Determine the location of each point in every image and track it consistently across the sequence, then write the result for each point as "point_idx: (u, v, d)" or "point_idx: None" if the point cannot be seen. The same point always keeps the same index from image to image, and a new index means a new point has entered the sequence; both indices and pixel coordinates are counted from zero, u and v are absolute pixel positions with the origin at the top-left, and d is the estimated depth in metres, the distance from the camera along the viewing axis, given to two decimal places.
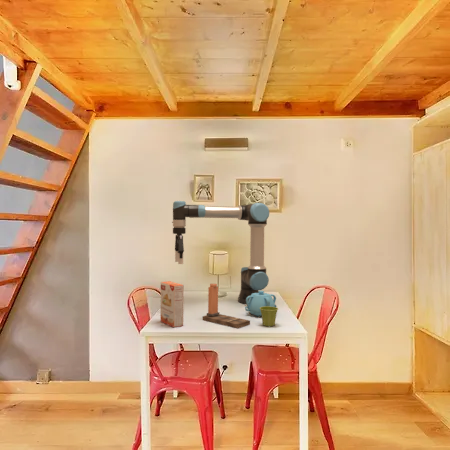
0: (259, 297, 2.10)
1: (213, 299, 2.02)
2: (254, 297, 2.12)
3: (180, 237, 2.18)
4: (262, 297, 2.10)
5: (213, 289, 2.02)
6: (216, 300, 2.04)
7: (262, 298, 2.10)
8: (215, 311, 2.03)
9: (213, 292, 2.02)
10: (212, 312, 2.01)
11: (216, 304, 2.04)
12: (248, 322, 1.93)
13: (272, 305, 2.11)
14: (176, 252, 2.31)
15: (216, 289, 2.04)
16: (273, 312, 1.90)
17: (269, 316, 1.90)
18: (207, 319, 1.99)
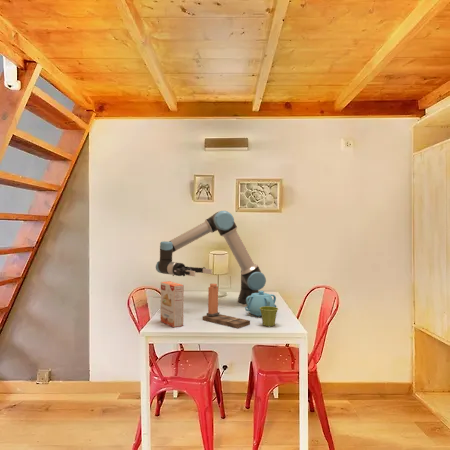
0: (259, 297, 2.10)
1: (213, 299, 2.02)
2: (254, 297, 2.12)
3: (175, 271, 2.13)
4: (262, 297, 2.10)
5: (213, 289, 2.02)
6: (216, 300, 2.04)
7: (262, 298, 2.10)
8: (215, 311, 2.03)
9: (213, 292, 2.02)
10: (212, 312, 2.01)
11: (216, 304, 2.04)
12: (248, 322, 1.93)
13: (272, 305, 2.11)
14: (203, 272, 2.17)
15: (216, 289, 2.04)
16: (273, 312, 1.90)
17: (269, 316, 1.90)
18: (207, 319, 1.99)
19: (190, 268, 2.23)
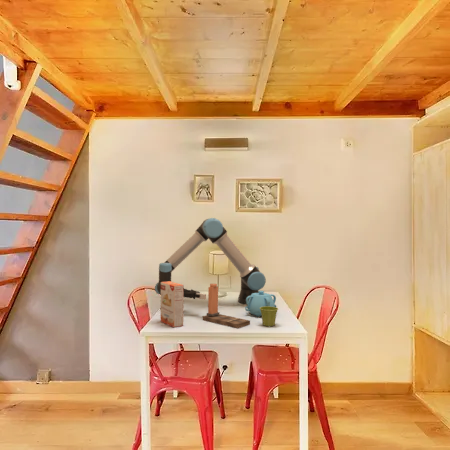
0: (259, 297, 2.10)
1: (213, 299, 2.02)
2: (254, 297, 2.12)
3: None
4: (262, 297, 2.10)
5: (213, 289, 2.02)
6: (216, 300, 2.04)
7: (262, 298, 2.10)
8: (215, 311, 2.03)
9: (213, 292, 2.02)
10: (212, 312, 2.01)
11: (216, 304, 2.04)
12: (248, 322, 1.93)
13: (272, 305, 2.11)
14: None
15: (216, 289, 2.04)
16: (273, 312, 1.90)
17: (269, 316, 1.90)
18: (207, 319, 1.99)
19: (190, 291, 2.22)
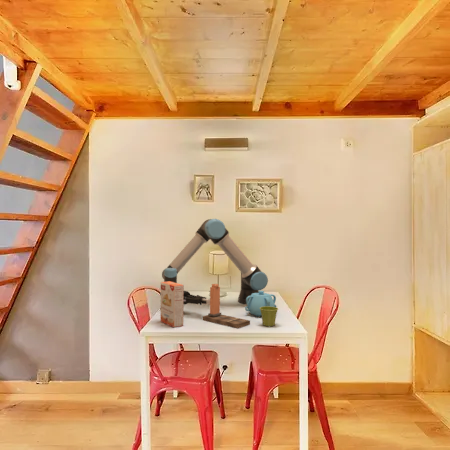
0: (259, 297, 2.10)
1: (215, 299, 2.01)
2: (254, 297, 2.12)
3: (184, 300, 2.09)
4: (262, 297, 2.10)
5: (215, 289, 2.01)
6: (218, 300, 2.03)
7: (262, 298, 2.10)
8: (217, 311, 2.02)
9: (215, 292, 2.01)
10: (214, 312, 2.01)
11: (218, 305, 2.03)
12: (248, 322, 1.93)
13: (272, 305, 2.11)
14: None
15: (218, 289, 2.03)
16: (273, 312, 1.90)
17: (269, 316, 1.90)
18: (207, 319, 1.99)
19: (197, 296, 2.18)
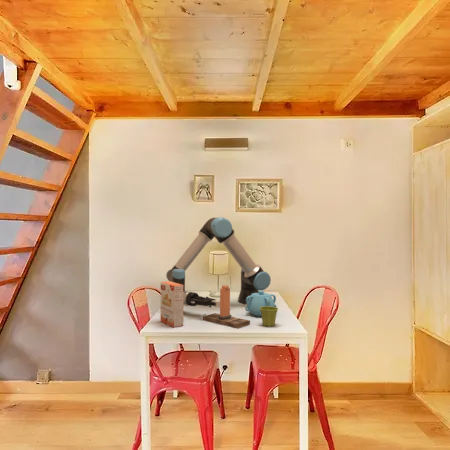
0: (259, 297, 2.10)
1: (225, 301, 1.97)
2: (254, 297, 2.12)
3: (193, 302, 2.04)
4: (262, 297, 2.10)
5: (225, 291, 1.96)
6: (228, 302, 1.98)
7: (262, 298, 2.10)
8: (227, 314, 1.98)
9: (225, 294, 1.97)
10: (224, 315, 1.96)
11: (228, 307, 1.99)
12: (248, 322, 1.93)
13: (272, 305, 2.11)
14: None
15: (228, 291, 1.98)
16: (273, 312, 1.90)
17: (269, 316, 1.90)
18: (207, 319, 1.99)
19: (205, 298, 2.13)
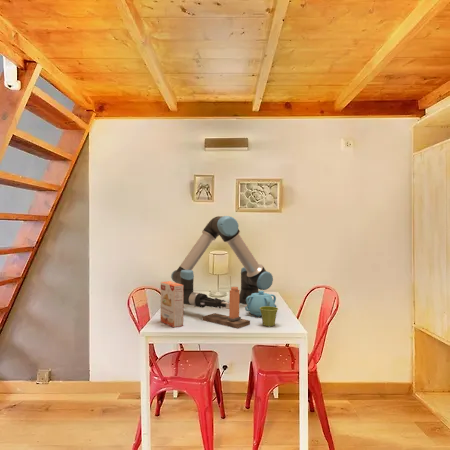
0: (259, 297, 2.10)
1: (234, 303, 1.93)
2: (254, 297, 2.12)
3: (202, 304, 2.00)
4: (262, 297, 2.10)
5: (234, 292, 1.92)
6: (237, 304, 1.94)
7: (262, 298, 2.10)
8: (236, 315, 1.94)
9: (234, 296, 1.93)
10: (233, 317, 1.92)
11: (237, 308, 1.94)
12: (248, 322, 1.93)
13: (272, 305, 2.11)
14: None
15: (237, 292, 1.94)
16: (273, 312, 1.90)
17: (269, 316, 1.90)
18: (207, 319, 1.99)
19: (215, 299, 2.10)
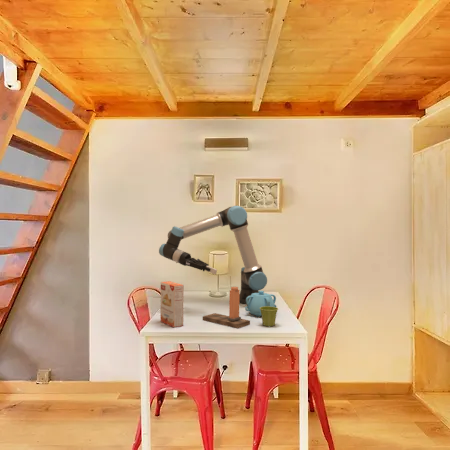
0: (259, 297, 2.10)
1: (234, 303, 1.93)
2: (254, 297, 2.12)
3: (188, 264, 2.13)
4: (262, 297, 2.10)
5: (234, 292, 1.92)
6: (237, 304, 1.94)
7: (262, 298, 2.10)
8: (236, 316, 1.94)
9: (234, 296, 1.93)
10: (233, 317, 1.92)
11: (237, 308, 1.94)
12: (248, 322, 1.93)
13: (272, 305, 2.11)
14: None
15: (237, 292, 1.94)
16: (273, 312, 1.90)
17: (269, 316, 1.90)
18: (207, 319, 1.99)
19: (197, 260, 2.23)
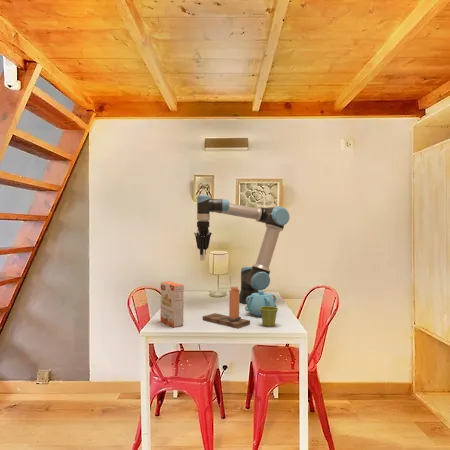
0: (259, 297, 2.10)
1: (234, 303, 1.93)
2: (254, 297, 2.12)
3: (195, 235, 2.23)
4: (262, 297, 2.10)
5: (234, 292, 1.92)
6: (237, 304, 1.94)
7: (262, 298, 2.10)
8: (236, 316, 1.94)
9: (234, 296, 1.93)
10: (233, 317, 1.92)
11: (237, 308, 1.94)
12: (248, 322, 1.93)
13: (272, 305, 2.11)
14: None
15: (237, 292, 1.94)
16: (273, 312, 1.90)
17: (269, 316, 1.90)
18: (207, 319, 1.99)
19: (209, 233, 2.31)
